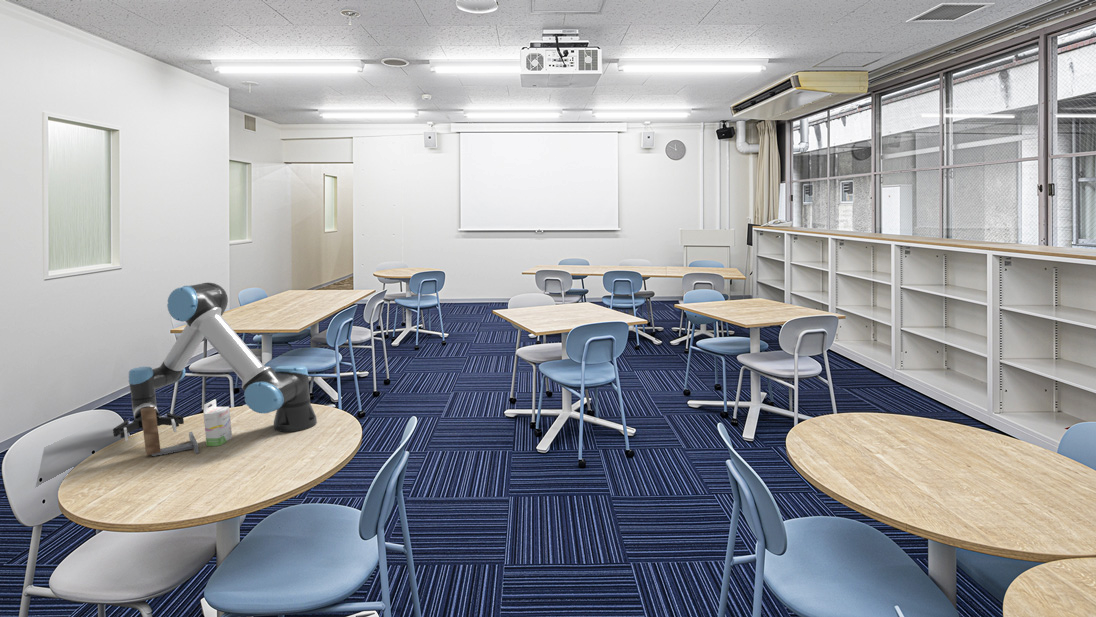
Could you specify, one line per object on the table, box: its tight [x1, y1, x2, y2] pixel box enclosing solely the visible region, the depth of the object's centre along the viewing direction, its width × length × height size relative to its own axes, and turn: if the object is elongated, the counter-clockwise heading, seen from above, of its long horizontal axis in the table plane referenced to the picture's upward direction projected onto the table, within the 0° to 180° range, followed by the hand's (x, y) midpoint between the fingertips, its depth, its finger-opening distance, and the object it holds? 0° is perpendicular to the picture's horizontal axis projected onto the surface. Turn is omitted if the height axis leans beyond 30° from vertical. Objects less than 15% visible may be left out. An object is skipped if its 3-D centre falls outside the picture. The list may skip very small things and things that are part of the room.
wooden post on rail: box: [141, 406, 200, 457], centre depth 211 cm, size 14×16×16 cm
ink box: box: [203, 398, 233, 447], centre depth 220 cm, size 9×5×15 cm, turn 179°
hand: (151, 432), depth 206 cm, fingers open, 13 cm apart
